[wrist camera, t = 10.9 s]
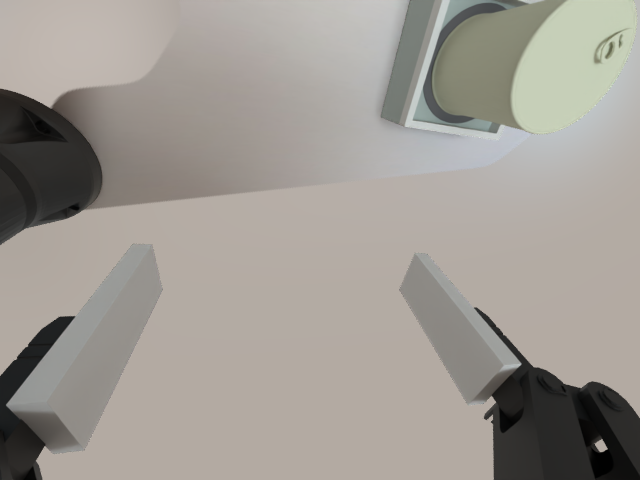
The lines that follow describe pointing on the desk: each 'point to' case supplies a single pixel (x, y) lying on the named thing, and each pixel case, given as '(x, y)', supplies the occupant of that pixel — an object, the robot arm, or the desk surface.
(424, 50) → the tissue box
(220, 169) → the desk surface
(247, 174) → the desk surface
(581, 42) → the can
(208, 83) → the desk surface
